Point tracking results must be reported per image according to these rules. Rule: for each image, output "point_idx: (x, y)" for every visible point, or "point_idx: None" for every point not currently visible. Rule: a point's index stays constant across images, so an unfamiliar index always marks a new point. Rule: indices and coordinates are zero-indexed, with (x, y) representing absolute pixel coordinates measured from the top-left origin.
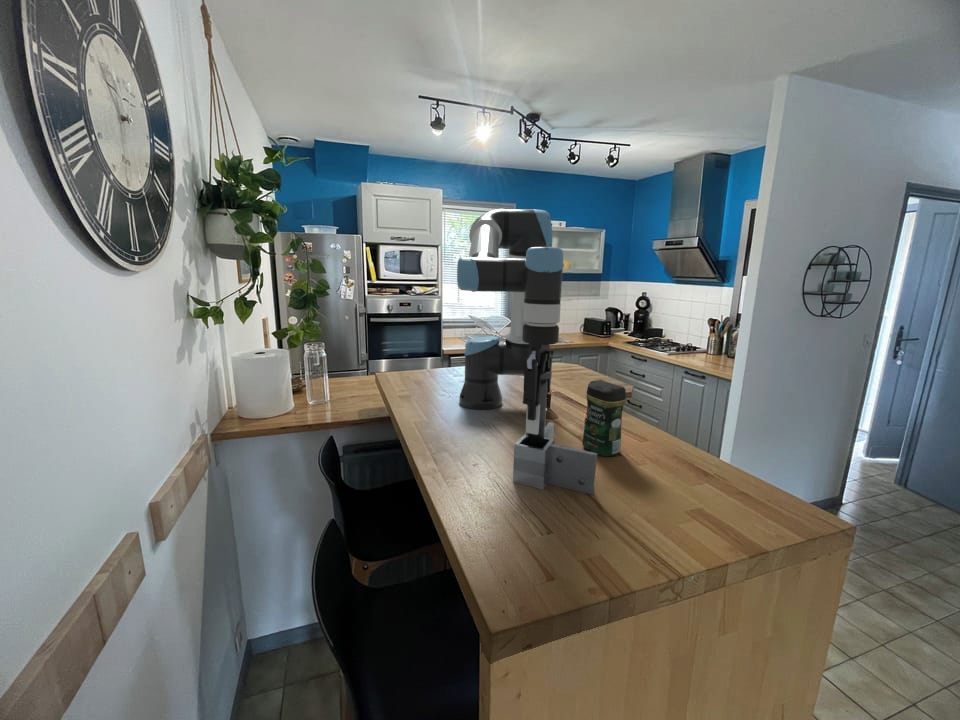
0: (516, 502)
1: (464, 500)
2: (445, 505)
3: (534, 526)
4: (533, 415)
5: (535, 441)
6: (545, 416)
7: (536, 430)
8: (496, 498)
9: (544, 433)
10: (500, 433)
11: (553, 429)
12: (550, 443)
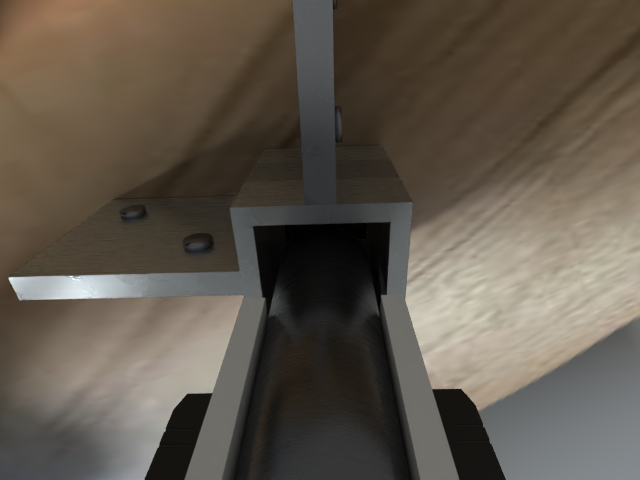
0: (497, 194)
1: (531, 315)
2: (569, 340)
3: (627, 90)
4: (482, 432)
5: (370, 278)
6: (230, 348)
7: (406, 318)
8: (493, 252)
9: (190, 274)
10: (86, 392)
11: (40, 257)
12: (301, 208)
